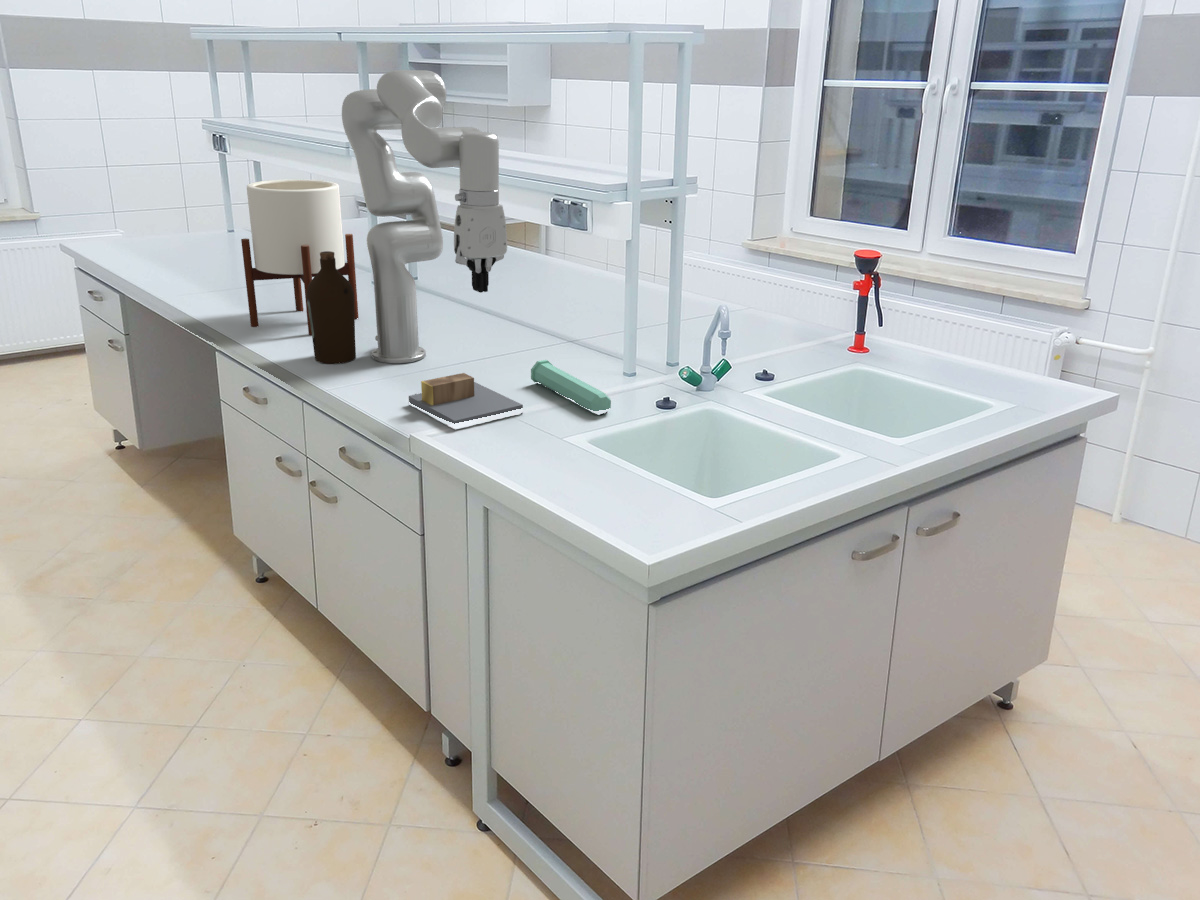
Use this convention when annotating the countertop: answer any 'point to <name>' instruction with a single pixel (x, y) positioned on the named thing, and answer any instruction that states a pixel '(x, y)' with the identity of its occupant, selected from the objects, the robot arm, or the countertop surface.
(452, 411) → the board
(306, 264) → the plant pot with stand
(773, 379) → the countertop surface
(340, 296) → the olive oil
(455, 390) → the block
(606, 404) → the container
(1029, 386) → the countertop surface
